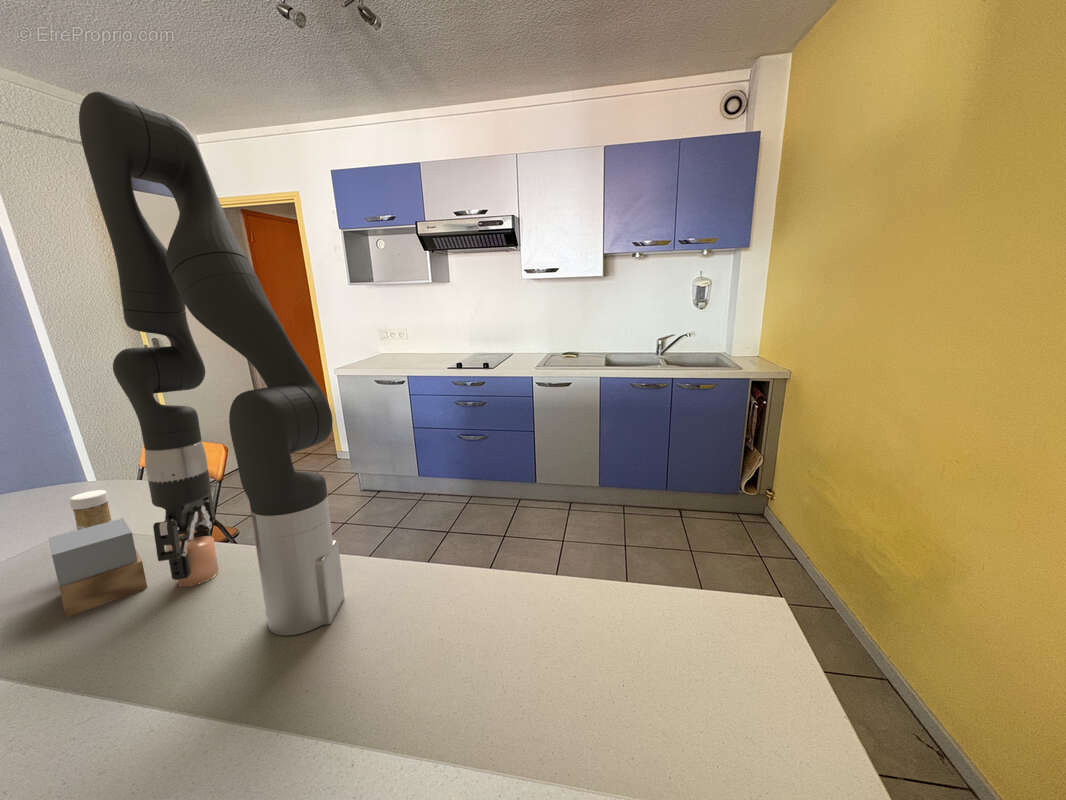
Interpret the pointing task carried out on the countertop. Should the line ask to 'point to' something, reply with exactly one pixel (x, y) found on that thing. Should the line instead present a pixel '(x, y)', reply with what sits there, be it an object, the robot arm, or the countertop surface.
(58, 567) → the slate top block
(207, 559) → the terracotta cylinder
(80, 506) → the sprinkles bottle
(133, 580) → the walnut base block
